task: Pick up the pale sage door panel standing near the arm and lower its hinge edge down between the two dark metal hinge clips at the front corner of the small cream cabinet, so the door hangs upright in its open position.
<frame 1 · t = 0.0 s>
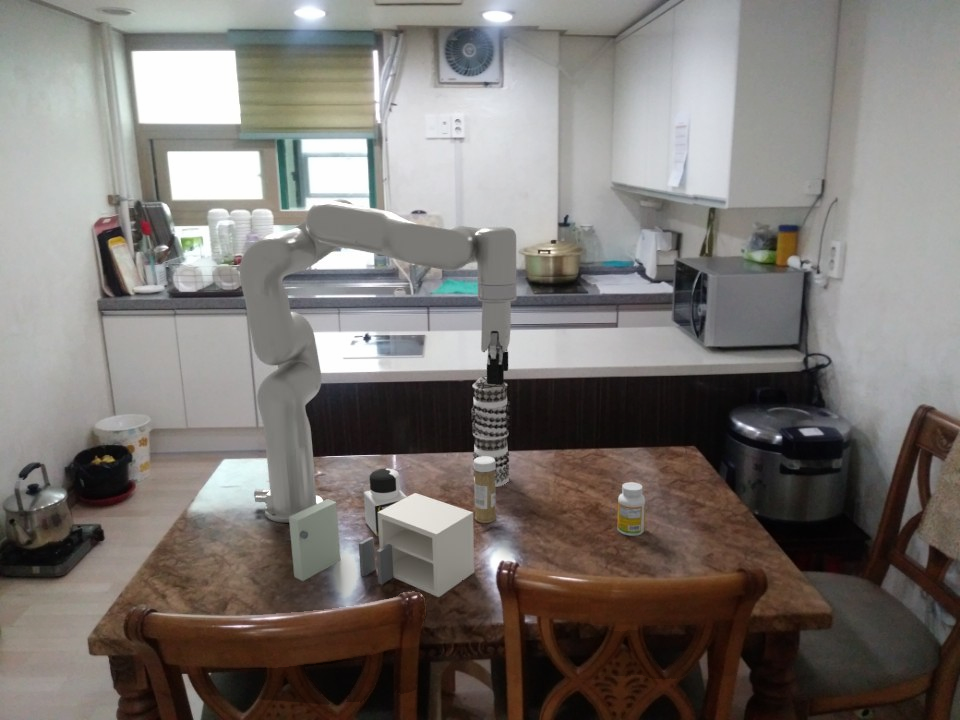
hand: (498, 377, 146), 31 cm above the table, tool pointing down, fingers open, 9 cm apart
spice jar: (485, 519, 154), on the table
cabinet: (427, 572, 134), on the table
medicine bottle: (387, 526, 152), on the table
door: (317, 568, 136), on the table
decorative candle: (491, 480, 173), on the table
supplement bottle: (630, 531, 148), on the table
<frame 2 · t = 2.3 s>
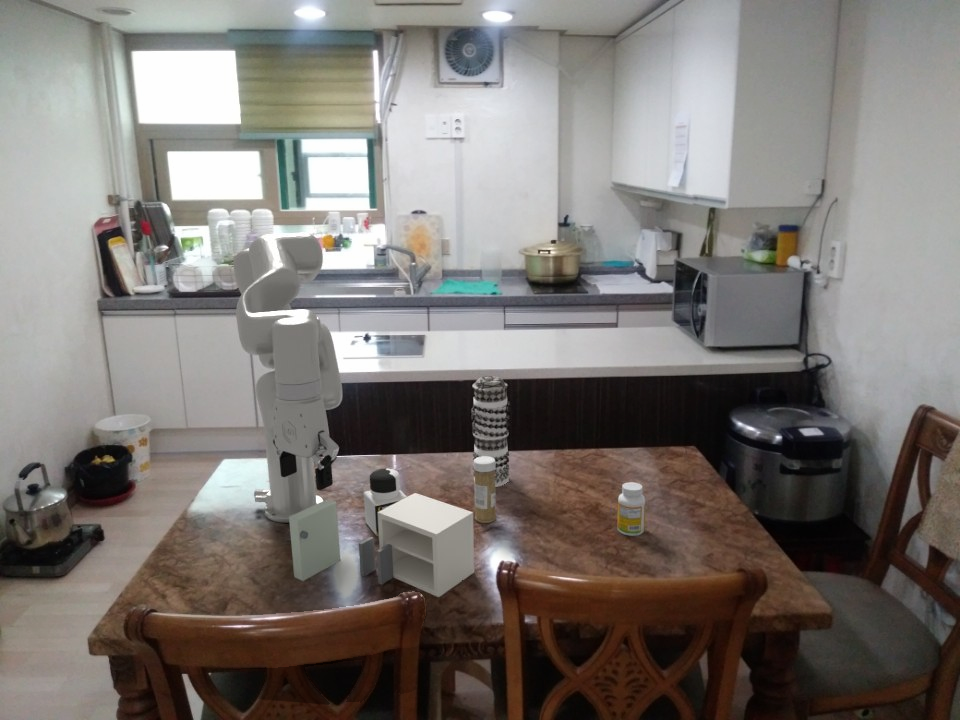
hand: (306, 480, 130), 18 cm above the table, tool pointing down, fingers open, 9 cm apart
nothing on the table moved.
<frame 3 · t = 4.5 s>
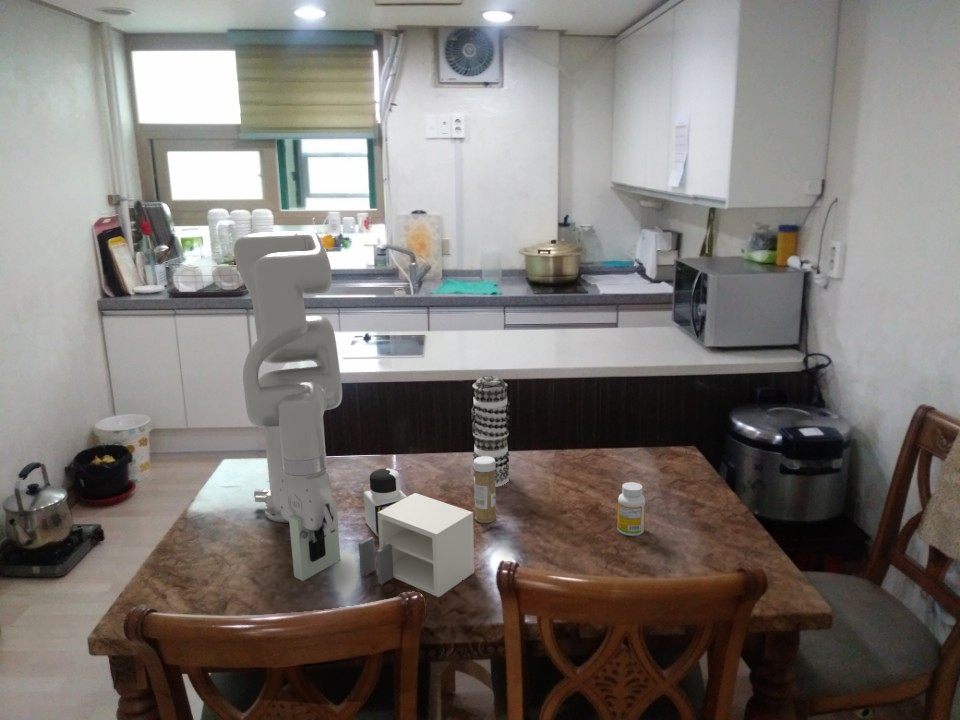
hand: (312, 555, 134), 3 cm above the table, tool pointing down, fingers closed on door, 2 cm apart
door: (317, 568, 136), on the table, touching gripper
everything else where it was.
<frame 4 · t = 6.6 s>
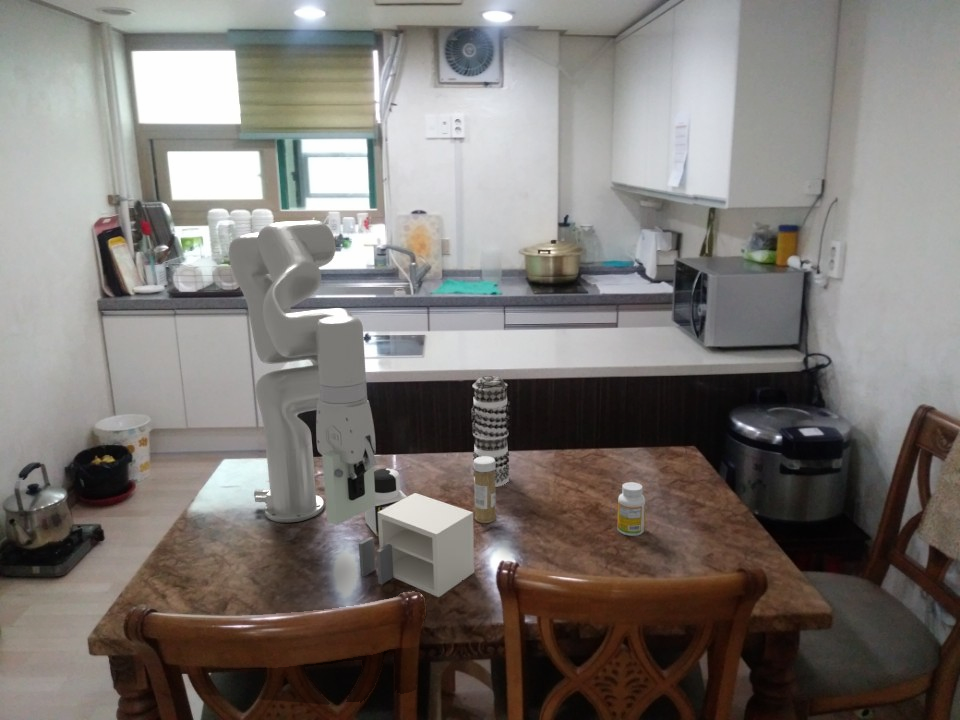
hand: (350, 494, 124), 18 cm above the table, tool pointing down, fingers closed on door, 2 cm apart
door: (351, 513, 125), point 15 cm above the table, touching gripper
everything else where it was.
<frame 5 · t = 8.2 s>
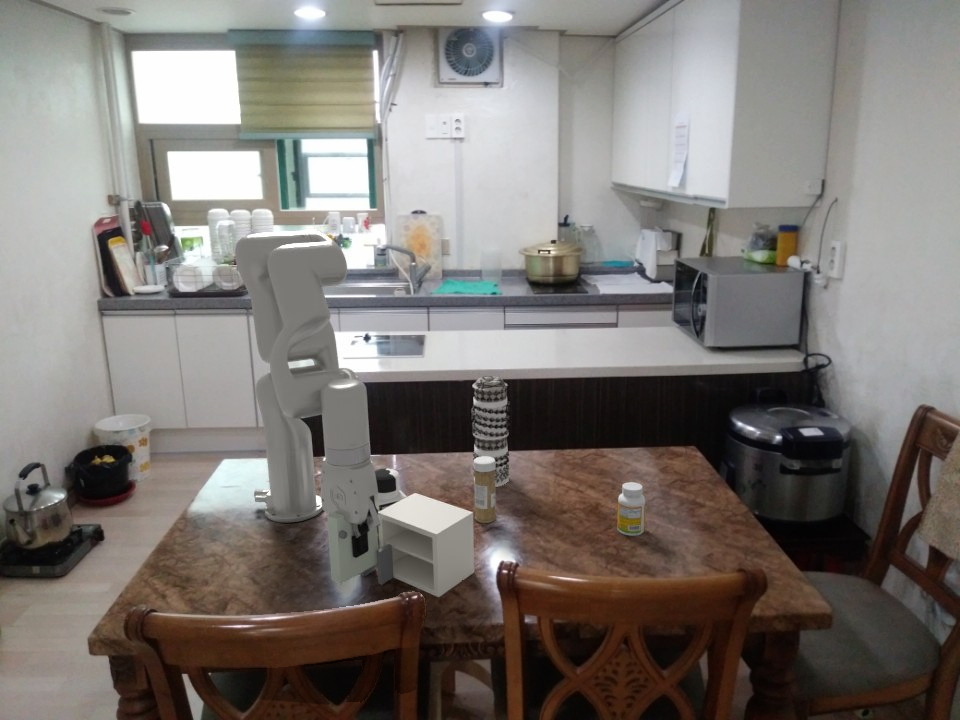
hand: (354, 550, 127), 7 cm above the table, tool pointing down, fingers closed on door, 2 cm apart
door: (355, 571, 128), point 4 cm above the table, touching gripper
everything else where it was.
when the fingers open (4 cm above the table, at t = 9.1 s): door stays where it is, on the table.
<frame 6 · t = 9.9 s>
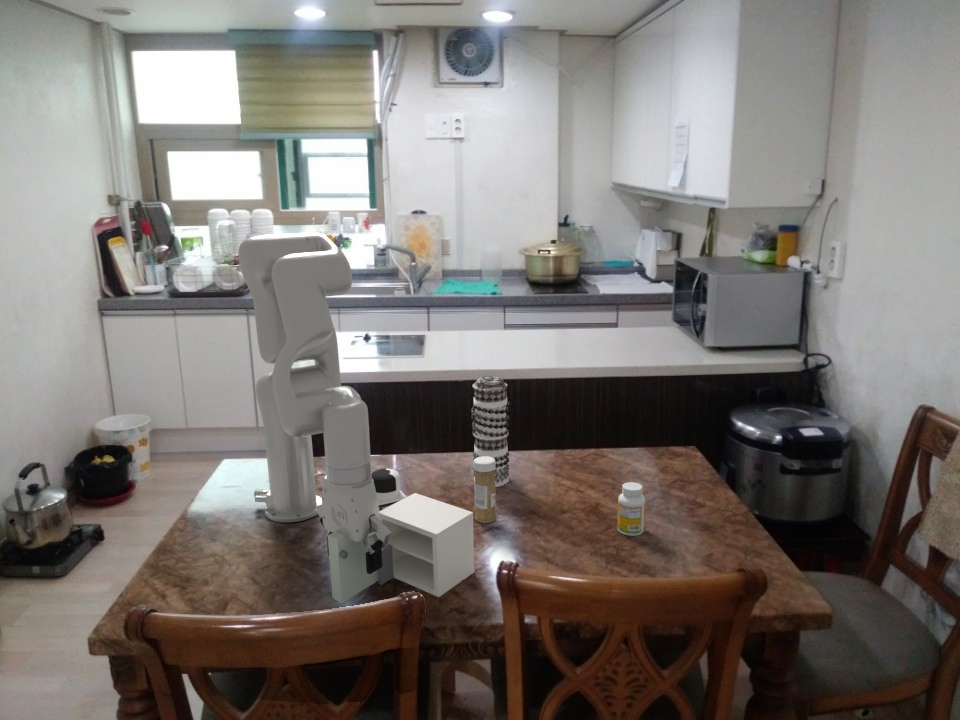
hand: (354, 561, 128), 5 cm above the table, tool pointing down, fingers open, 9 cm apart
door: (356, 588, 129), on the table
everything else where it was.
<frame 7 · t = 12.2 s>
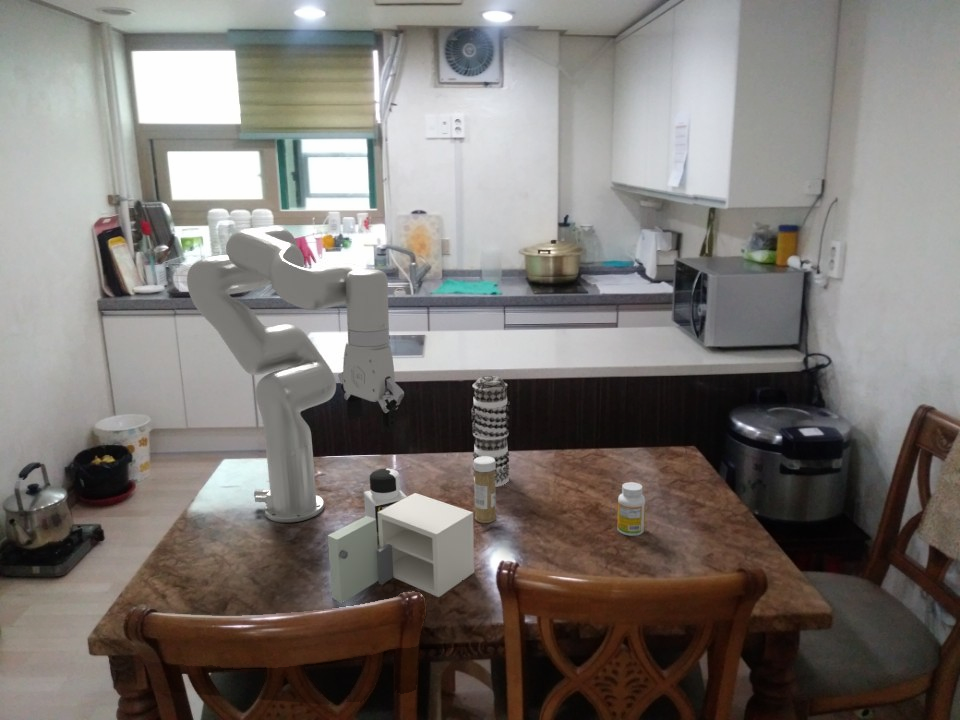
hand: (371, 424, 139), 25 cm above the table, tool pointing down, fingers open, 9 cm apart
nothing on the table moved.
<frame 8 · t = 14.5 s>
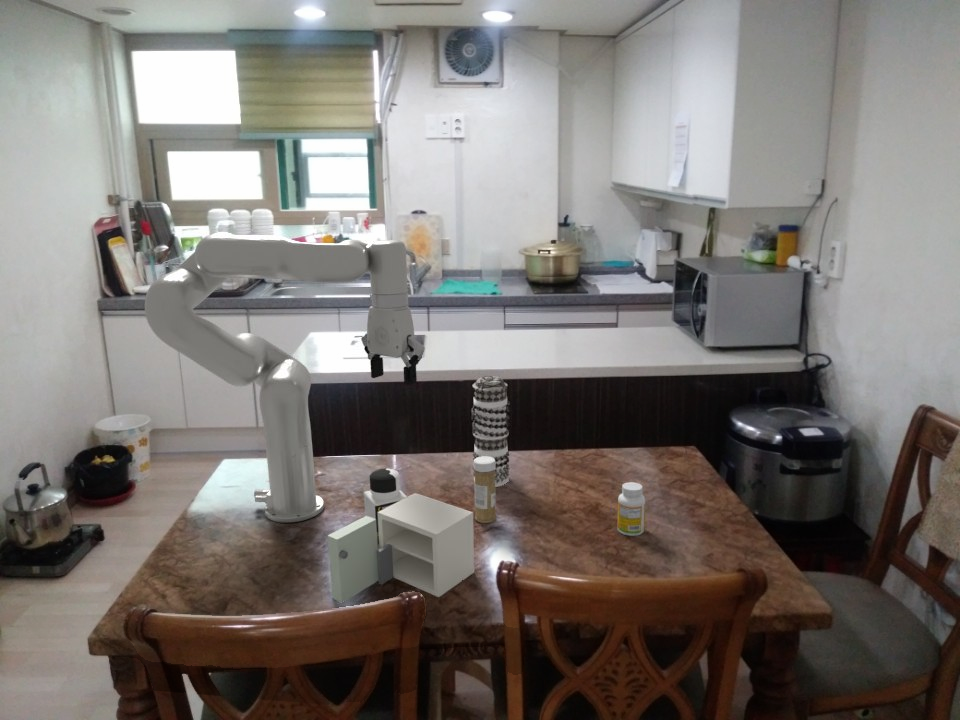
hand: (393, 380, 155), 28 cm above the table, tool pointing down, fingers open, 9 cm apart
nothing on the table moved.
at the end: door 1.0 cm from the target spot on the table beside the cabinet, on the table; door tilted 0°; the gripper is holding nothing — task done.
